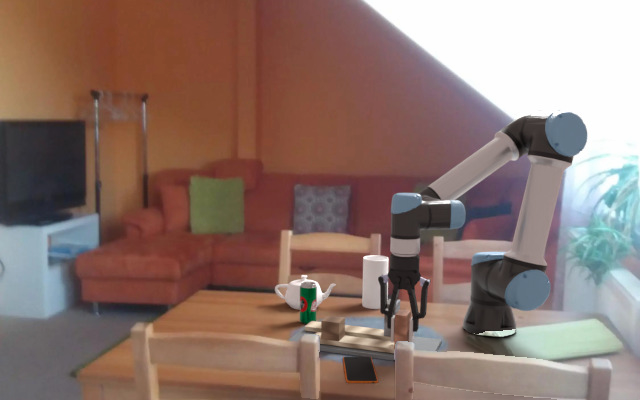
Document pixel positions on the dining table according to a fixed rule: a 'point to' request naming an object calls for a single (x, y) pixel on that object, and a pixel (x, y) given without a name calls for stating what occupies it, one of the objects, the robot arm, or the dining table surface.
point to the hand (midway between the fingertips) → (402, 341)
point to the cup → (373, 280)
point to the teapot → (294, 292)
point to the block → (333, 328)
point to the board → (419, 343)
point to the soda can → (308, 302)
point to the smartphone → (359, 370)
